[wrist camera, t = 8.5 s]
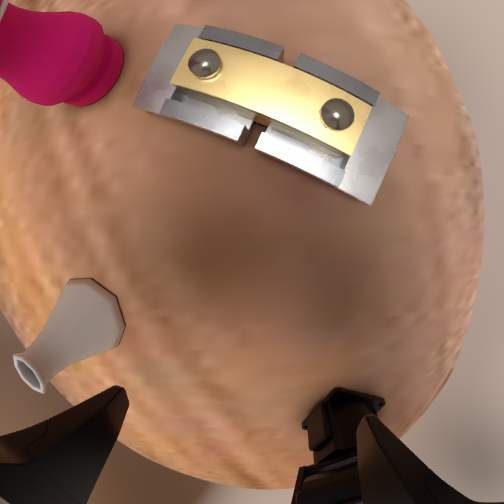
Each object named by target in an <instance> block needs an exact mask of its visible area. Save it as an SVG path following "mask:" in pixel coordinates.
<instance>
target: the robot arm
mask: <svg viewBox="0 0 504 504" xmlns="http://www.w3.org/2000/svg"><path fill="white" fill-rule="evenodd" d="M336 393H337V394H336ZM384 405H385V400H384V399H382V398H378V397H373V396H369V395H365V394H361V393H357V392H353V391H349V390H345V389H341V388H336V389H334V390H333V391H332V392H331V393H330V394H329V395H328V396H327V398H326V399H325V400H324V401H323V402H322V403H321V404H320V405H319V406H318V407H317V408H316V409H315V410H314V411H313V412H312V413H311V414H310V416H309V417H308V418H307V419H306V420H305V421H304V422H303V423H302V429H304V430H308V440H309V449H310V451H313V456H314V464H313V465H310V466H303V467H299V471H298V475H297V480H296V484H295V489H294V494H293V498H292V502H291V504H504V502H498V503H497V502H496V503H493V502H490V503H485V502H476V501H473V500H471V499H469V498H467V497H465V496H464V495H463V494H461V493H460V492H458V491H457V490H455V489H454V488H453V487H451V486H450V485H448V484H447V483H446V482H444V481H443V480H442V479H441V478H439V477H438V476H437V475H436V474H435V473H434V472H433V471H432V470H431V469H430V468H428V467H427V466H426V465H425V464H424V463H423V462H422V461H421V460H420V459H419V458H418V457H417V456H416V455H415V454H414V453H413V452H412V451H411V450H410V449H409V448H407V447H406V445H405V444H404V443H403V442H402V441H400V440H399V439H398V438H397V437H396V436H395V435H394V434H393V433H392V432H391V431H390V430H389V429H388V428H387V427H386V426H385V425H384V424H383V423H382V422H381V421H380V420H379V419H378V417H377V414H376V413H377V412H378V411H379V410H380V409H381V408H382V407H383V406H384ZM128 407H129V400H128V397H127V394H126V390H125V389H124V388H123V387H120V386H117V385H115V386H112V387H110V388H108V389H107V390H105V391H103V392H101V393H99V394H97V395H95V396H93V397H91V398H89V399H87V400H86V401H84V402H82V403H80V404H78V405H76V406H74V407H72V408H70V409H68V410H66V411H64V412H62V413H60V414H58V415H55V416H53V417H51V418H49V420H45V421H43V422H41V423H38V424H36V425H34V426H31V427H28V428H25V429H23V430H20V431H16V432H13V433H10V434H6V435H3V436H0V504H86V503H87V501H88V499H89V497H90V495H91V493H92V490H93V488H94V486H95V484H96V482H97V480H98V477H99V475H100V473H101V471H102V469H103V467H104V465H105V463H106V460H107V458H108V456H109V454H110V452H111V450H112V448H113V446H114V444H115V442H116V440H117V438H118V435H119V433H120V430H121V427H122V424H123V421H124V418H125V416H126V413H127V410H128Z"/></svg>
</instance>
